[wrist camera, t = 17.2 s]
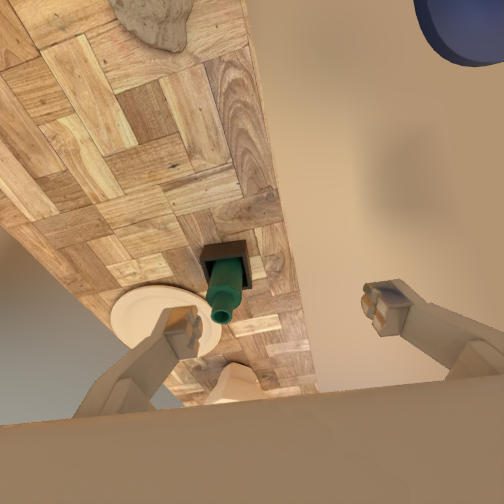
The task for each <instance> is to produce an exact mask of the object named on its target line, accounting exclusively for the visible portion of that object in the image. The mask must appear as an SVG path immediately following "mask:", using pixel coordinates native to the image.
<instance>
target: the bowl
mask: <svg viewBox="0 0 504 504" xmlns="http://www.w3.org/2000/svg"><path fill="white" fill-rule="evenodd" d="M257 399H267V396H266V394H265V393H264V391H263V390H262V388H260V387H258V386H257V383H256V380H255V377H254V374H253V371H252V369H251V368H249V367H247V366H244V365H241V364H238V363H233V362H232V363H230V364H228V365H227V366H226V367H225V368H224V369H223V370H222V372H221V374H220V377H219V379H218V382H217V385H216V386H215V388H214V389H213V390H212V391H211V393H210V394H209V396H208V398H207V399H206V401H205V403H204V404H203V405H209V404H218V403H228V402H238V401H248V400H257Z"/></svg>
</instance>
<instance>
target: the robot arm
mask: <svg viewBox="0 0 504 504" xmlns="http://www.w3.org/2000/svg"><path fill="white" fill-rule="evenodd" d="M363 291H364V292H365V294H364V295H363V297H362V298H361V305H362V309H363V311H364V313H365V315H366V316H367V317H368V318H370V319H371V320H373V322H372V325H373V327H374V328H375V330H376V331H377V333H378V334H379V336H380V337H385V336H395V335H396V336H397V335H400V336H401V337H402V338H404V339H405V340H407V341H408V342H410V343H411V344H412V345H414V346H415V347H417V348H418V349H420V350H421V351H423V352H424V353H426V354H427V355H429V356H430V357H432V358H433V359H434V360H436V361H437V362H439V363H440V364H442V365H443V366H445V367H446V368H448V369H449V370H450V371H449V373H448V375H447V376H446V378H445V380H443V381H433V382H423V383H414V384H404V385H395V386H385V387H375V388H365V389H355V390H345V391H335V392H326V393H316V394H306V395H296V396H286V397H277V398H267V399H257V400H248V401H238V402H228V403H218V404H209V405H199V406H189V407H179V408H170V409H160V410H156V408H155V407H154V406H153V405H152V403H151V402H150V401H149V400H150V399H151V398H152V396H153V395H154V394H155V392H156V391H157V389H158V388H159V387H160V386H161V384H162V383H163V382H164V381H165V379H166V378H167V377H168V375H169V374H170V373H171V371H172V370H173V369H174V367H175V366H176V365H177V363H178V362H179V360H184V359H191V358H197V355H198V351H199V346H200V344H199V341H198V340H199V339H200V338H201V336H202V332H203V323H202V319H201V317H200V316H199V315H197V313H198V309H197V306H196V305H189V306H179V307H172V308H165V309H163V310H162V312H161V314H160V317H159V319H158V321H157V323H156V325H155V327H154V329H153V331H152V333H151V335H150V336H149V337H146V338H145V339H144V340H142V341H141V342H140V343H139V344H138V345H137V346H135V347H134V348H133V349H132V350H131V351H130V352H129V353H127V354H126V355H125V356H124V357H123V358H121V359H120V360H119V361H118V362H117V363H116V364H114V365H113V366H112V367H111V368H110V369H109V370H107V371H106V372H105V373H104V374H103V375H102V376H100V377H99V378H98V379H97V380H96V381H95V382H94V384H93V385H92V387H91V388H90V390H89V392H88V393H87V395H86V397H85V398H84V400H83V401H82V403H81V405H80V406H79V408H78V409H77V411H76V413H75V414H74V416H73V418H71V419H61V420H51V421H42V422H32V423H22V424H13V425H2V426H0V504H504V332H501V331H499V330H496V329H494V328H492V327H489V326H487V325H484V324H482V323H479V322H477V321H475V320H472V319H470V318H467V317H464V316H462V315H460V314H457V313H455V312H452V311H450V310H448V309H445V308H443V307H440V306H438V305H435V304H433V303H427V302H426V301H425V300H424V299H422V298H421V297H420V296H419V295H418V294H417V293H416V292H414V290H412V289H411V288H410V287H409V286H408V285H407V284H406V283H405V282H404V281H402V280H400V279H394V280H388V281H381V282H373V283H365V285H364V287H363Z"/></svg>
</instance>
